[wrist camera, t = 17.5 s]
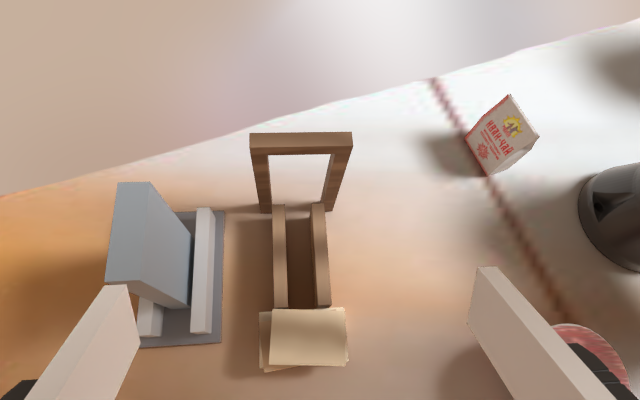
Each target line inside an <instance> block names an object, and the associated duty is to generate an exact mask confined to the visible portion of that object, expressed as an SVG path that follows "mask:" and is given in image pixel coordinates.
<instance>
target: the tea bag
mask: <svg viewBox="0 0 640 400" xmlns="http://www.w3.org/2000/svg"><path fill="white" fill-rule="evenodd" d="M538 138H539V135H538V134H537V132H536V131H535V129H534V128H533V126H532V125H531V123H530V122H529V120H528V119H527V117H526V116H525V114H524V113H523V112H522V110H521V109H520V107H519V106H518V104H517V103H516V101H515V100H514V98H513V97H512V95H511V94H510V95H507V96H506V97H505V98H504V99H503V100H501V101H500V102H499V103H498V104H497V105H495V106H494V107H493V108H492V109H491V110H489V111H488V112H487V113H486V114H484V115H483V116H482V117H481V119H480V120H479V121H478V122H477V123H476V125H475V126H474V127H473V128H472V129H471V131H470V132H469V133H468V134H467V136H466V137H465V138H464V139H465V141H466V143H467V144H468V146H469V148H470V149H471V151H472V153H473V154H474V156H475V158H476V159H477V161H478V162H479V164H480V166H481V167H482V169H483V171H484V172H485V174H486V176H487V177H488V176H490V175H493V174H496V173H498V172H501V171H504V170H506V169H508V168H510V167H511V166H512V165H513V164H514V163H516V162H517V161H518V160H519V159H520V158H522V157H523V156H524V155H525V154H526V153H527V152H529V151H530V150H531V149H532V147H533V145H534V144H535V142H536V140H537V139H538Z"/></svg>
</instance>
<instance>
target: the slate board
mask: <svg viewBox="0 0 640 400" xmlns="http://www.w3.org/2000/svg"><path fill="white" fill-rule="evenodd" d="M194 252H195V239H194V238H193V237H192V235H191V234H190V233H189V231H188V230H187V229H186V228H185V226H184V225H183V224H182V222H181V221H180V220H179V219H178V217H177V216H176V215H175V213H174V212H173V211H172V210H171V208H170V207H169V206H168V204H167V203H166V202H165V200H164V199H163V198H162V197H161V195H160V194H159V193H158V191H157V190H156V189H155V188H154V186H153V185H152V184H151V182H120V183H118V185H117V193H116V200H115V207H114V214H113V221H112V228H111V235H110V243H109V250H108V257H107V264H106V271H105V278H104V282H106V283H108V284H110V285H123V284H127V288H128V292H130V293H132V294H135V295H137V296H140V297H142V298H145V299H147V300H149V301H152V302H154V303H157V304H159V305H162V306H164V307H167V308H169V309H187V308H191V306H192V288H193V270H194Z"/></svg>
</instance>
